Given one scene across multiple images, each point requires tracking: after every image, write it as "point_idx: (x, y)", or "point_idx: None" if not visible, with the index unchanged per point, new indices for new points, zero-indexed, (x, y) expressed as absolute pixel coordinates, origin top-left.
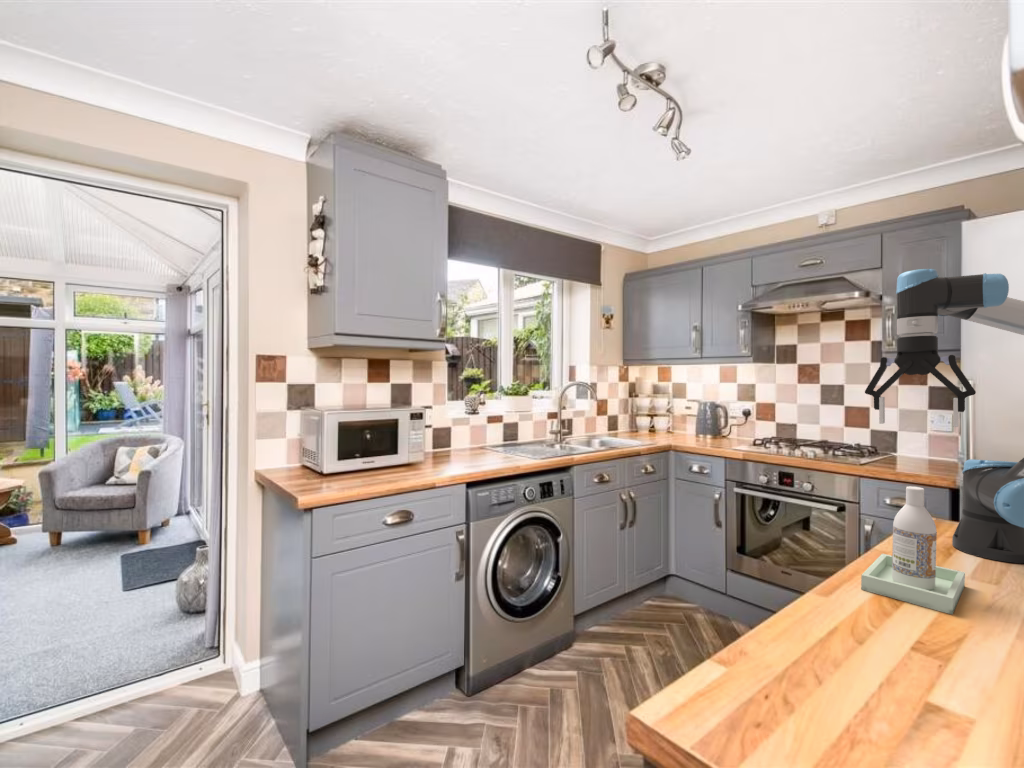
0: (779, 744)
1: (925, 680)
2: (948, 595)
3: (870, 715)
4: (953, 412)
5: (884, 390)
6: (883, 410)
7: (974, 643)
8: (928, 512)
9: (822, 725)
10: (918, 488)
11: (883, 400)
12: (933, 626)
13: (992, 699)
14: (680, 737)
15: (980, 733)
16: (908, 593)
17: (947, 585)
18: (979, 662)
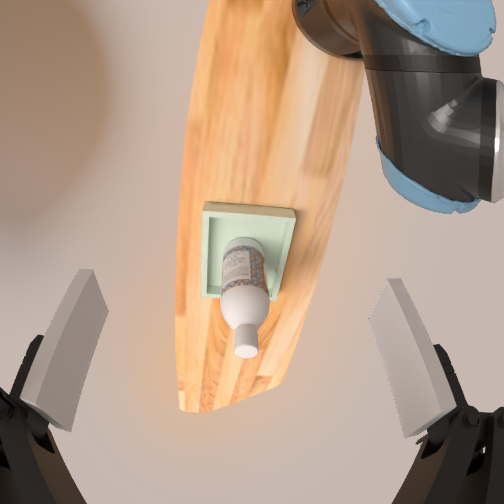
0: (217, 405)
1: (255, 365)
2: (273, 297)
3: (238, 389)
4: (387, 372)
5: (68, 471)
6: (83, 356)
7: (283, 323)
8: (261, 322)
9: (225, 397)
10: (251, 353)
11: (65, 406)
12: None
13: (281, 363)
14: (194, 411)
15: (273, 380)
16: None
17: (275, 234)
18: (282, 340)
